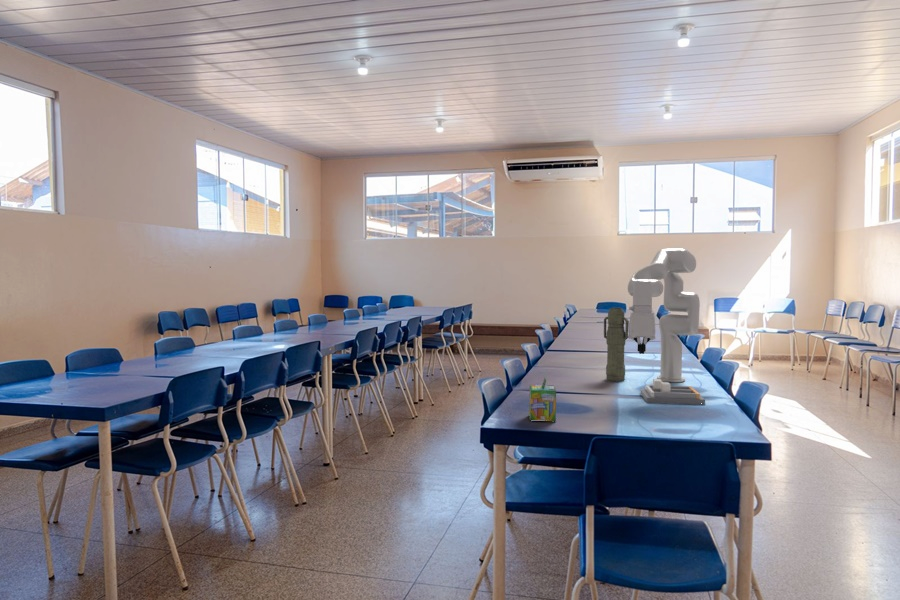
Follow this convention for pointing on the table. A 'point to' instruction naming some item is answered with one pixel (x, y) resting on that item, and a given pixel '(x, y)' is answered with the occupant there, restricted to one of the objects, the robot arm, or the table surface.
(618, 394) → the table surface
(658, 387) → the tab
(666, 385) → the tab
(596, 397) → the table surface
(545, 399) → the chalk box
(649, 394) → the switch board
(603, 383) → the table surface
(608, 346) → the thermos
